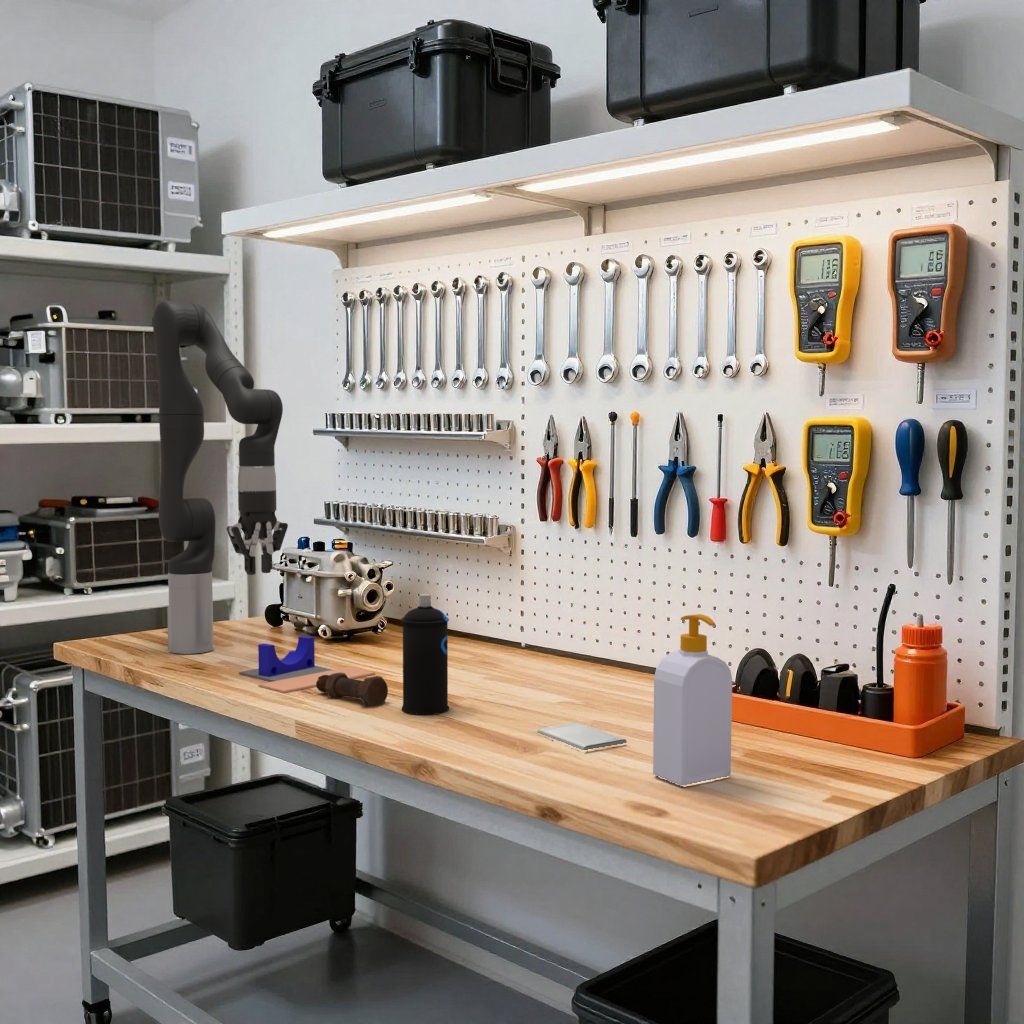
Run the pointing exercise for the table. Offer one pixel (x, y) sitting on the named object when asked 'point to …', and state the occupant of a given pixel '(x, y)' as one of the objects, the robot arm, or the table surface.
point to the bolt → (354, 688)
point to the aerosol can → (425, 659)
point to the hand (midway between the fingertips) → (258, 573)
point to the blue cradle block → (286, 658)
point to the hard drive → (581, 736)
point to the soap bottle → (692, 711)
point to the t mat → (302, 677)
